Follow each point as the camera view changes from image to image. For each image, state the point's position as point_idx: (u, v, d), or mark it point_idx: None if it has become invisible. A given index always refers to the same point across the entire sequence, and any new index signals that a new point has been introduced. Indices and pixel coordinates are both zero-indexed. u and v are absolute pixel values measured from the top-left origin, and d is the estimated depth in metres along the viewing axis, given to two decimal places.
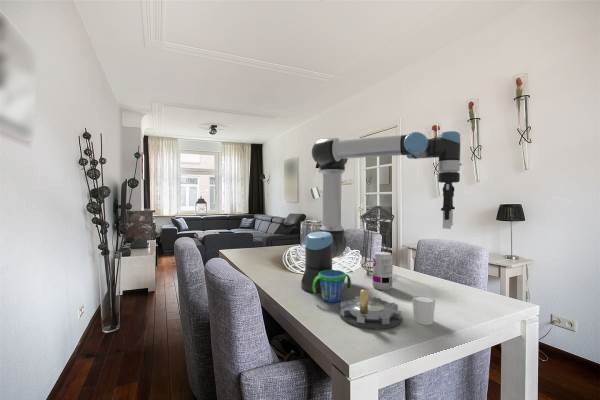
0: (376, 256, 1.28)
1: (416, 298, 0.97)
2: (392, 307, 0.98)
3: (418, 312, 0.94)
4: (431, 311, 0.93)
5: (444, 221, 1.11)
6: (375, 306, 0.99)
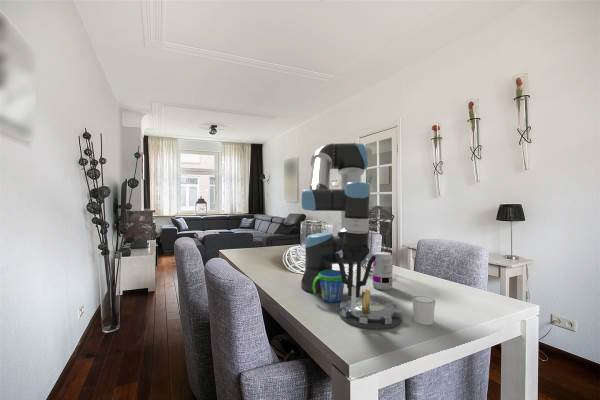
0: (376, 256, 1.28)
1: (416, 298, 0.97)
2: (392, 306, 0.99)
3: (418, 312, 0.94)
4: (431, 311, 0.93)
5: None
6: (375, 305, 0.99)
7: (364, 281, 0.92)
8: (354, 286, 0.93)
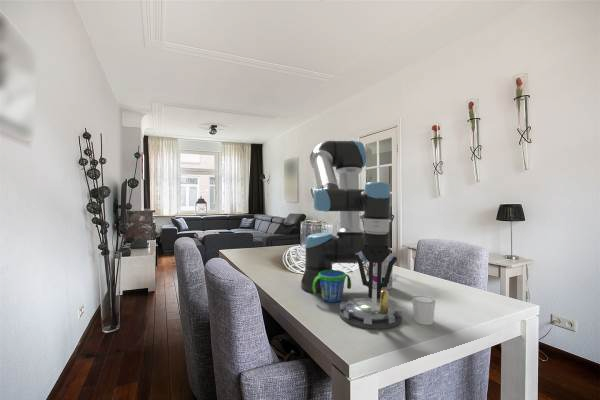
0: None
1: (416, 298, 0.97)
2: (379, 300, 1.05)
3: (418, 312, 0.94)
4: (431, 311, 0.93)
5: None
6: None
7: (385, 283, 0.90)
8: (375, 288, 0.92)
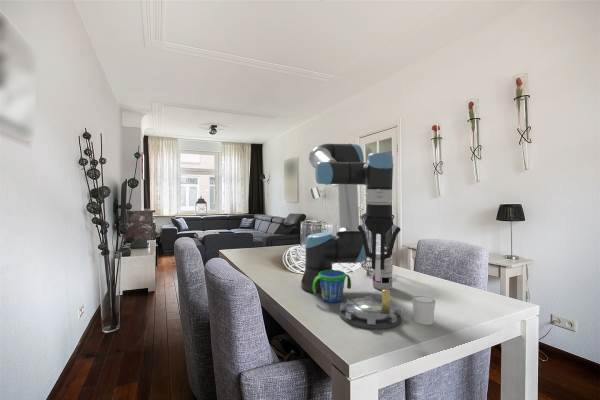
0: (376, 256, 1.28)
1: (416, 298, 0.97)
2: (377, 299, 1.05)
3: (418, 312, 0.94)
4: (431, 311, 0.93)
5: None
6: (372, 303, 1.01)
7: (389, 253, 0.91)
8: (378, 259, 0.92)
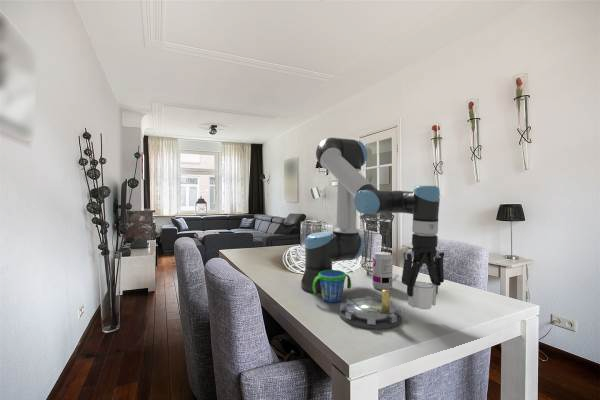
0: (376, 256, 1.28)
1: (415, 283, 0.97)
2: (377, 299, 1.05)
3: (417, 297, 0.94)
4: (430, 296, 0.93)
5: (409, 297, 0.96)
6: (372, 303, 1.01)
7: (442, 278, 0.97)
8: (433, 284, 0.97)
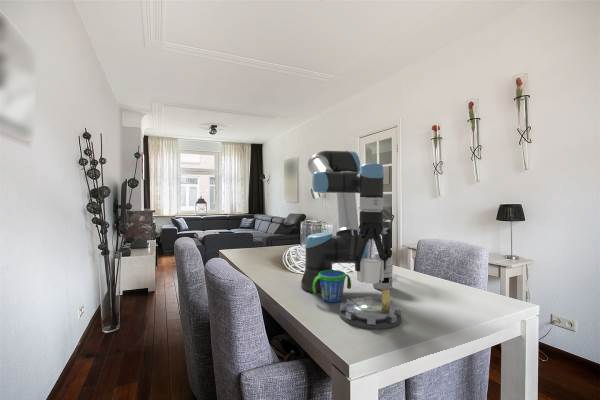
0: (376, 256, 1.28)
1: (364, 259, 1.00)
2: (377, 299, 1.05)
3: (364, 271, 0.97)
4: (376, 270, 0.96)
5: (357, 272, 0.99)
6: (372, 303, 1.01)
7: (389, 254, 0.99)
8: None
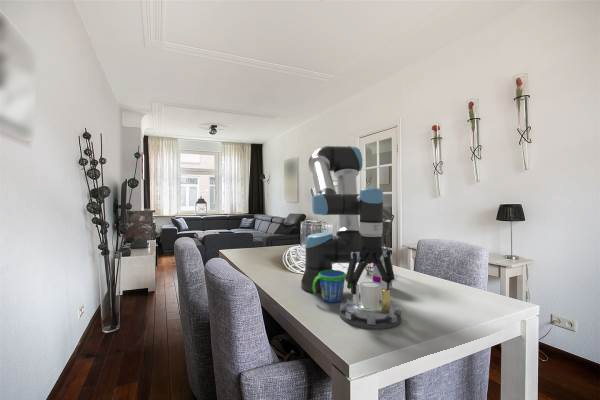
0: None
1: (363, 283, 1.00)
2: None
3: (364, 296, 0.97)
4: (376, 295, 0.96)
5: (353, 295, 0.98)
6: None
7: (392, 276, 1.00)
8: (384, 282, 1.00)
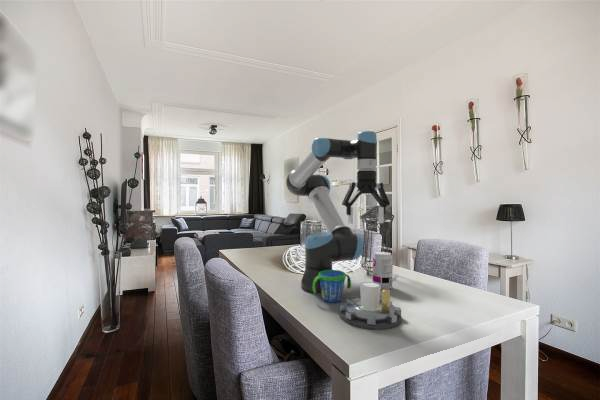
0: (376, 256, 1.28)
1: (363, 283, 1.00)
2: None
3: (364, 296, 0.97)
4: (376, 295, 0.96)
5: (348, 216, 1.20)
6: None
7: (387, 202, 1.22)
8: (381, 207, 1.22)
